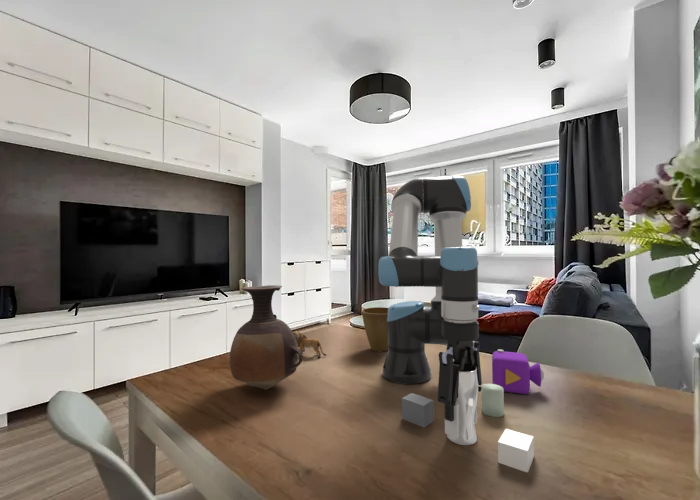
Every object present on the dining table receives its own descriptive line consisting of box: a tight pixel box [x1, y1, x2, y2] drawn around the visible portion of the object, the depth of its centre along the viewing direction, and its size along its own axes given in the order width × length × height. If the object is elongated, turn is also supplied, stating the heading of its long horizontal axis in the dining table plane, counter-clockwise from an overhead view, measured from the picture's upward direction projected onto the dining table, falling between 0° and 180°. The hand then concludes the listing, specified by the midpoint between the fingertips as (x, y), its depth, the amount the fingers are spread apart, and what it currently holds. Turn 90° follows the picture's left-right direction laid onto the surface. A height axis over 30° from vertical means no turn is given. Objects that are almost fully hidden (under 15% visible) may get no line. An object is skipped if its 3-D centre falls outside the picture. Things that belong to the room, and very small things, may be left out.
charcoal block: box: [401, 392, 435, 428], centre depth 80 cm, size 6×4×5 cm, turn 45°
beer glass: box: [446, 364, 479, 446], centre depth 72 cm, size 7×7×15 cm
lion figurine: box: [292, 330, 327, 358], centre depth 132 cm, size 15×5×9 cm, turn 74°
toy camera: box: [491, 348, 545, 395], centre depth 98 cm, size 11×14×10 cm
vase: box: [229, 284, 304, 391], centre depth 100 cm, size 23×19×30 cm
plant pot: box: [361, 306, 389, 352], centre depth 139 cm, size 15×15×16 cm
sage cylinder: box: [480, 383, 505, 418], centre depth 83 cm, size 5×5×6 cm
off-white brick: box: [497, 428, 535, 474], centre depth 64 cm, size 6×5×4 cm
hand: (461, 427), depth 72 cm, fingers open, 8 cm apart
